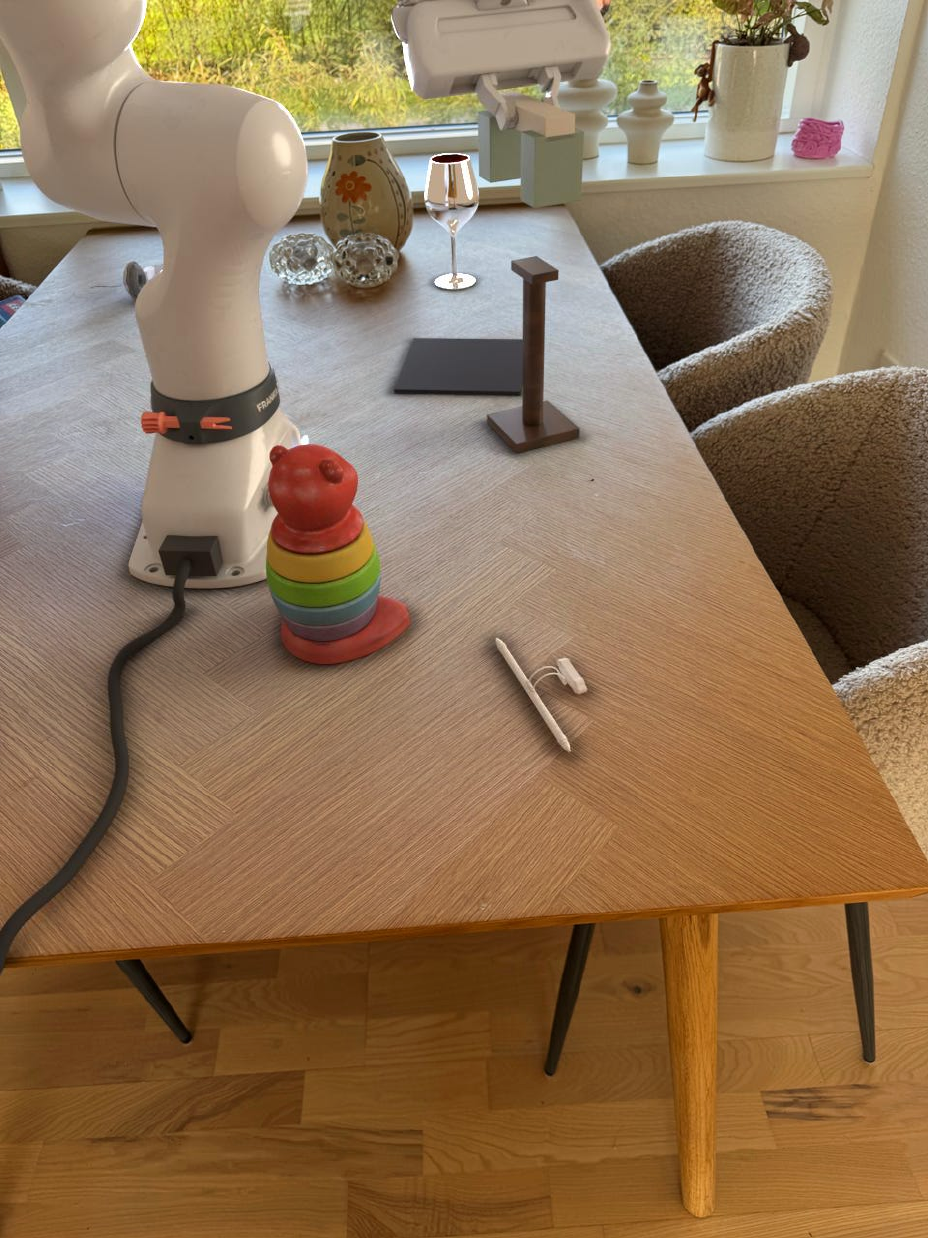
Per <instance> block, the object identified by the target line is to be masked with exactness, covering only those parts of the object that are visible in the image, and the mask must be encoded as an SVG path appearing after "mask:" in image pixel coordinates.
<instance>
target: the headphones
mask: <svg viewBox="0 0 928 1238" xmlns="http://www.w3.org/2000/svg"><path fill="white" fill-rule="evenodd" d="M162 270H163V263H162V264H161V263H159V264H154V265H149V266H146V267H144V268H143V267H142V266H141V265H140V264H139V263H137V262H136V261H133V260H131V261H129V262H128V263H126V266H125V268H124V270H123V273H122V284H121V285H120V287H122V286H124V289H125V291H126V292H127V293H128V295H129V297H130V298H131V299H132V300H134V301H136V300H137V297H138V295H139V293H140V291H141V289H142V288H143V287H144V285H145V284H146V283H147V282H148V281H149V280H150V279H151V278H152V277H153V276H154V275H156V274H157V273H159V272H160V271H162ZM99 287H100V288H101V287H103V288H108V286H106V285H105V286H104V285H96V286H91V287H90V288H89V290H92V289H93V288H99ZM117 287H118V285H115V286H110V288H117Z"/></svg>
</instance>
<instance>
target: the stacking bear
mask: <svg viewBox="0 0 928 1238" xmlns="http://www.w3.org/2000/svg"><path fill="white" fill-rule="evenodd" d="M269 458H270V462H271V463H272V469H271V471H270V474H269V480H268V489H269V494H270V498H271V501H272V503H273V505H274V507H275V509H276V511H277V512H278V514H277V515H276V517H275V518H274V520H273V522H272V525H271V530H270V532H269V535H268V541H267V557H266V577H267V578H266V582H267V586H268V591H269V593H270V597H271V599H272V601H273V604H274V605H275V607H276V609H277V612H278V614H279V615H280V616H279V617H281V619H282V621H281V629H280V630H281V631H280V634H281V640H282V643H283V645H284V647H285V649H287V651H288V652H289V653H290V654H291V655H293V656H294V657H296V658H298V659H300V660H301V661H305V662H308V663H312V664H319V665H334V664H340V663H345V662H349V661H353V660H357V659H359V658H362V657H365V656H367V655H369V654H372V653H374V652H376V651H378V650H380V649H382V648H384V647H385V646H387V645H389V644H390V643H392V642H393V641H394V640H396V639H397V638H398V637H399V636H400V635H401V634H402V633H404V631H406V630H407V628H408V627H409V625H410V624H411V617H410V612H409V609H408V606H407V605H406V604H405V603H404V602H401V601H399V600H397V599H396V598H393V597H388V596H382V595H379V594H380V591H381V590H380V589H381V578H382V577H381V574H382V572H381V571H382V570H381V562H380V556H379V552H378V549H377V547H376V546H377V545H376V544H375V542H374V539H373V536H372V533H371V531H370V529H369V527H368V523H367V522H366V520H365V519H364V516H363V514H362V513H361V511H360V510H359V509H358V508H357V507H356V506H355V505H354V504H353V503H354V501H355V498H356V495H357V491H358V487H359V486H358V485H359V476H358V471H357V470H356V468H355V467H354V465H353V464H352V463H351V462H348V460H346V459H345V458H344V457H343V456H342V455H340V454H339V453H338V452H336V451H335V450H333V449H331V448H329V447H327V446H324V445H321V444H314V443H308V444H304V445H299V446H295V447H293V448H291V449H289V450H288V449H286V448H285V447H284V446H281V445H277V446H274V447H273V448H272V450H271V451H270V455H269Z"/></svg>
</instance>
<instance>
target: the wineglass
mask: <svg viewBox="0 0 928 1238" xmlns="http://www.w3.org/2000/svg"><path fill="white" fill-rule="evenodd" d="M427 169H428V170H427V175H426V181H425V187H424V195H423V196H424V199H423V200H424V206H425V209H426V211H427V213H428V214H429V216H430V217H431V218H432V219H433V220H434V221H435V222H437V224H439V225H440V226H441V227H442V228H443V229H445V231H446V232H448V234H449V236H450V249H451V250H450V251H451V273H449V274H445V275H442V276H439V277H438V278H436V279H435V280H434V284H435V286H436V287H437V288H439V289H442V290H452V291H455V290H463V289H467V288H470V287H472V286H474V285H475V283H476V278H475V277H474V276H472V275H469V274H464V273H459V270H458V256H457V255H458V254H457V236H458V234H459V231H460V230H461V229H462V227H464V225H466V224H467V223H468V222H469V221H470V219H471V218H472V217H473V216H474V215H475V213H476V211H477V210H478V206H479V203H480V193H479V188H478V184H477V179H476V175H475V171H474V168H473V164H472V161H471V158H470V156H469V155H467V154H464V153H441V154H437V155H434V156H432V157H431V158H430V160H429V164H428V168H427Z"/></svg>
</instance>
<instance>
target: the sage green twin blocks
mask: <svg viewBox="0 0 928 1238" xmlns="http://www.w3.org/2000/svg"><path fill="white" fill-rule="evenodd" d="M498 92H499V94H500V95H501V96H502V97H503V98H504V99H505V100H506V101H507V102H514V101H515V104H516V111H517V112H518V114H519V122H518V124H516V128H515V129H507V130H500V128H499V125H498V122H497V119H496V116H495V115H493V114H492V113H491V112H490V111H489V110H487V109H486V110H480V111H477V135H478V136H477V142H478V143H477V145H478V146H477V147H478V148H477V149H478V177H480V178H482V179H484V180H485V181H487V182H489V183H492V184H493V183H498V182H506V181H512V180H519V179H520V201H521V202H523V203H524V204H526V205H527V206H529V207H531V208H533V209H538V208H539V209H540V208H545V207H550V206H556V205H563V204H570V203H575V202H580V201H582V189H583V185H582V184H583V168H584V167H583V165H584V148H585V147H584V145H585V144H584V143H585V131H584V130H582V129H579V128H576V114H575V113H573V112H570V111H567V110H565V109H563V108H561V107H560V108H558V107H555V106H552V105H550V104H547V103H545V102H542V101H541V100H539V99H537V98H535V97H531V96H529V95H526V94H524V93H521V92H519V91H516V90H514V89H513V90H512V89H511V90H505V91H504V90H503V91H498Z"/></svg>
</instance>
